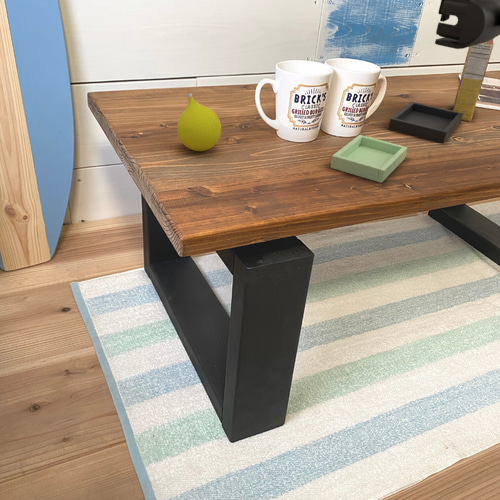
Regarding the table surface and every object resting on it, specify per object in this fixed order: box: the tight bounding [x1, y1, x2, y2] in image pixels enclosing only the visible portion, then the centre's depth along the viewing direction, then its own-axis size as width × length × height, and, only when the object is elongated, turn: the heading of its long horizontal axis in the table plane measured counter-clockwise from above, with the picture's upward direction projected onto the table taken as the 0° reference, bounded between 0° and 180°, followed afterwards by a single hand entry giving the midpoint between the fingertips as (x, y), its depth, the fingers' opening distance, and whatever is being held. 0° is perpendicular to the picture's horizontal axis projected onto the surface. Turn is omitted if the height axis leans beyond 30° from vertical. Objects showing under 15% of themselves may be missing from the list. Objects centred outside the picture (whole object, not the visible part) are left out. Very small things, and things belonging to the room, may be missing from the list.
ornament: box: [176, 92, 222, 152], centre depth 81 cm, size 7×7×10 cm
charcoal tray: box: [387, 101, 463, 144], centre depth 100 cm, size 11×14×2 cm
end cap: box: [434, 0, 500, 50], centre depth 77 cm, size 10×7×7 cm
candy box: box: [452, 39, 495, 122], centre depth 104 cm, size 9×4×15 cm, turn 158°
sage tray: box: [329, 134, 408, 184], centre depth 83 cm, size 9×12×2 cm
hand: (473, 24), depth 78 cm, fingers closed on end cap, 8 cm apart
